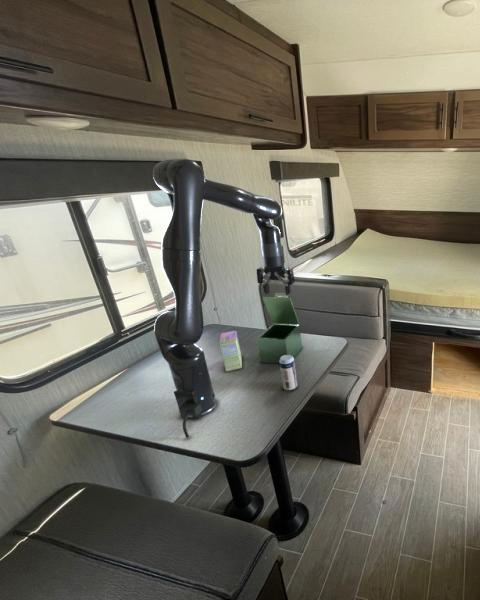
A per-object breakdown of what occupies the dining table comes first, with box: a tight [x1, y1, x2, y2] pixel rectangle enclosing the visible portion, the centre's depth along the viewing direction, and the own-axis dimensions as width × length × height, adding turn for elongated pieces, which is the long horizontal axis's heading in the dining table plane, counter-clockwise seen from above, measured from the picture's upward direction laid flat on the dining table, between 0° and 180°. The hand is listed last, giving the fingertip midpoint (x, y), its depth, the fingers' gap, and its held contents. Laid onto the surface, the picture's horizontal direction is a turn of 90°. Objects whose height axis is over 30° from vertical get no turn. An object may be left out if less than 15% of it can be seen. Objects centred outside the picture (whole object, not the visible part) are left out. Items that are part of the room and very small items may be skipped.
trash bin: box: [256, 323, 303, 364], centre depth 132 cm, size 14×12×11 cm
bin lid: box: [261, 292, 300, 325], centre depth 133 cm, size 14×12×5 cm
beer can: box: [278, 355, 298, 391], centre depth 111 cm, size 5×5×12 cm
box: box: [218, 330, 243, 372], centre depth 126 cm, size 10×6×12 cm, turn 25°
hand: (277, 293), depth 128 cm, fingers open, 8 cm apart
